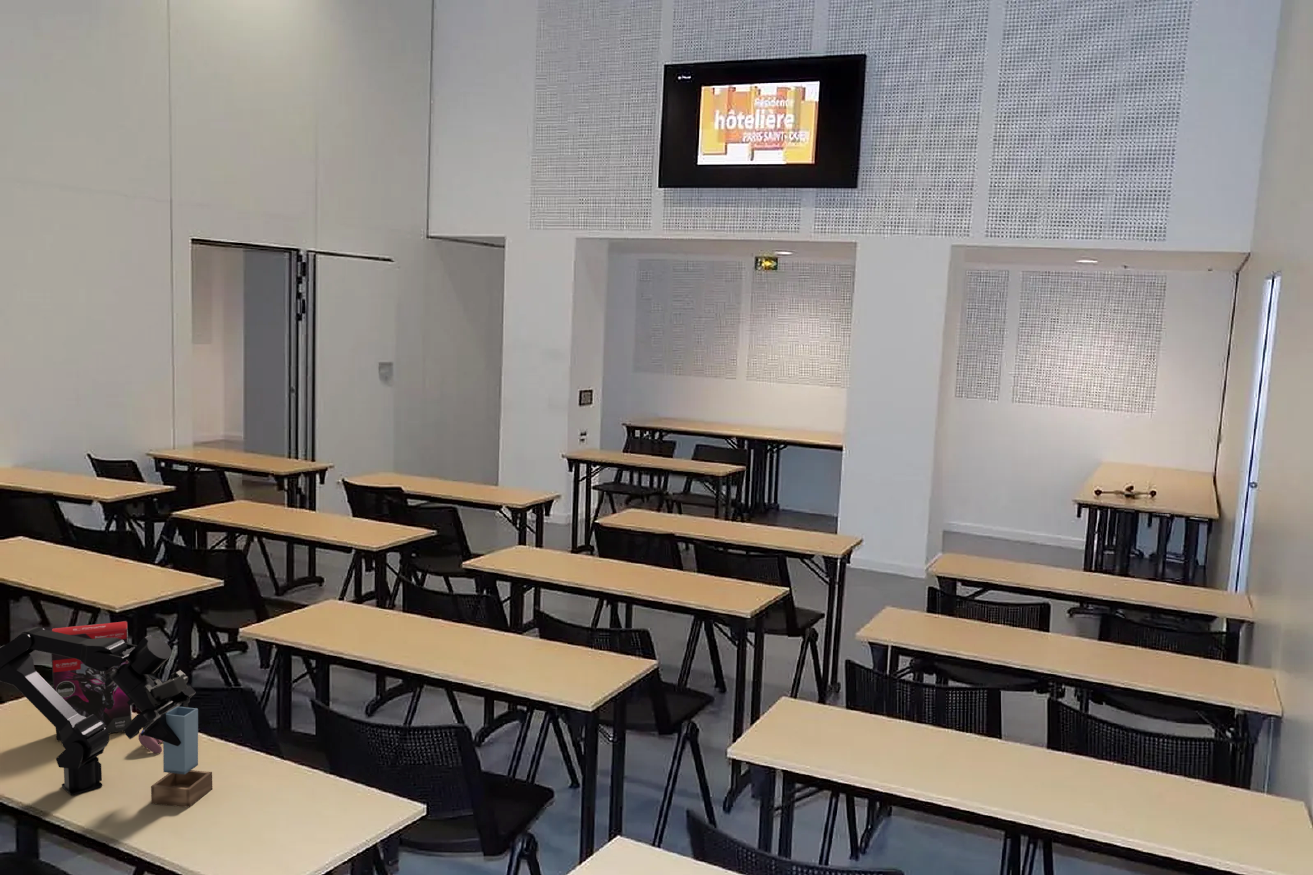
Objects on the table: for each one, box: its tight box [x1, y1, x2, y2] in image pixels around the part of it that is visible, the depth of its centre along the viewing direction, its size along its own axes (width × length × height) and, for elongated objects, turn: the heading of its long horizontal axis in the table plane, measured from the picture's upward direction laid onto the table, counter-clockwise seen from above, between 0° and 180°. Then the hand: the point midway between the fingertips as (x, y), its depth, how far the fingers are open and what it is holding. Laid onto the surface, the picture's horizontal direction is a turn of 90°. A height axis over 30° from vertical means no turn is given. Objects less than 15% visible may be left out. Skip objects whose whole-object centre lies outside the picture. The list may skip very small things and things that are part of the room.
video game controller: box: [138, 729, 163, 754], centre depth 255 cm, size 10×5×7 cm, turn 179°
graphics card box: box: [50, 620, 133, 742], centre depth 261 cm, size 17×7×27 cm, turn 117°
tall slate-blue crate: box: [162, 706, 199, 775], centre depth 228 cm, size 5×5×13 cm
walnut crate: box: [150, 769, 213, 808], centre depth 229 cm, size 9×9×4 cm
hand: (186, 739), depth 228 cm, fingers closed on tall slate-blue crate, 5 cm apart
